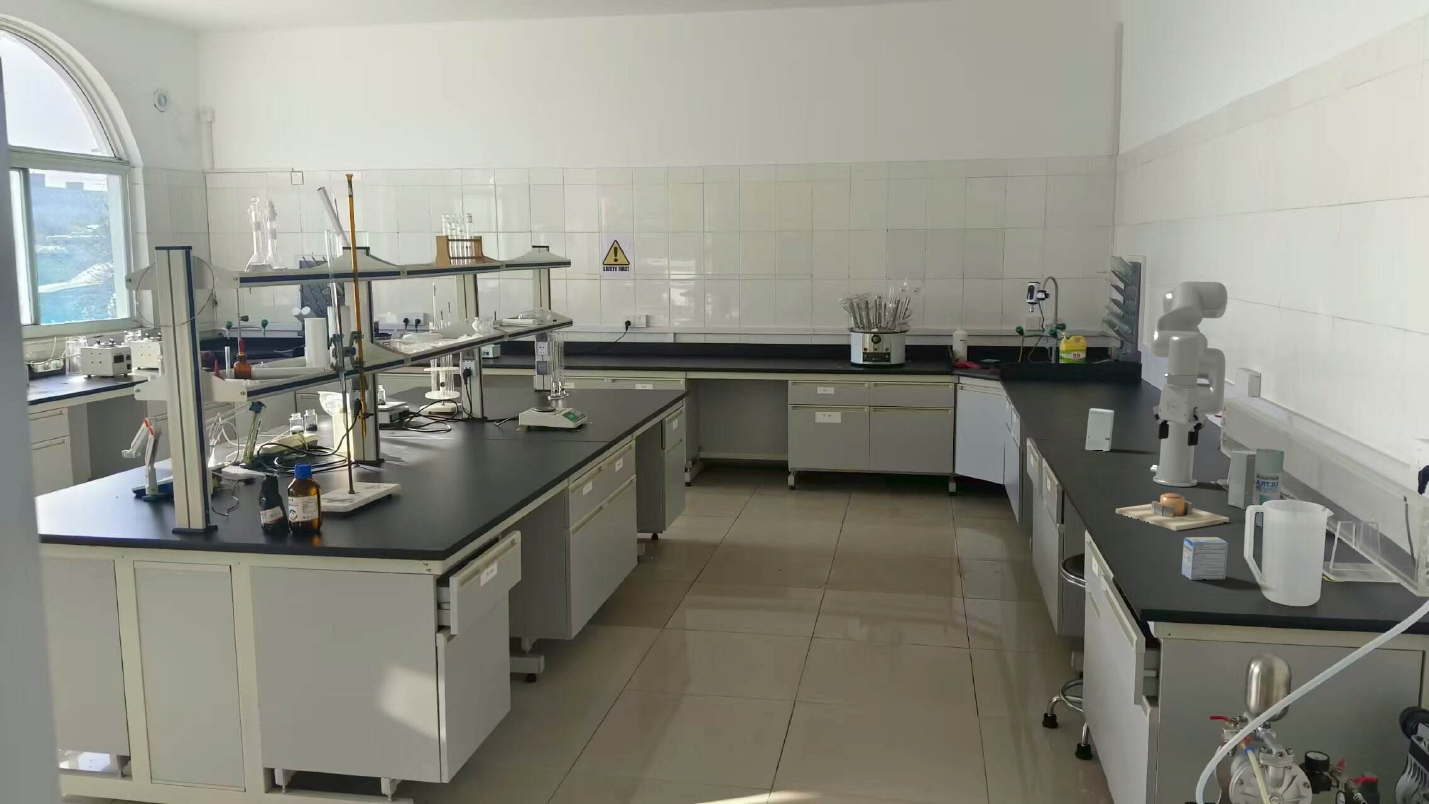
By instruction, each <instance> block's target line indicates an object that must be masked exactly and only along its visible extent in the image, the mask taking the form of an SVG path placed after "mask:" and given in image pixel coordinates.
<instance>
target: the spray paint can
mask: <svg viewBox="0 0 1429 804" xmlns="http://www.w3.org/2000/svg"><path fill="white" fill-rule="evenodd" d="M1255 451H1256V460H1255V474H1254V488H1253V502H1252V504H1254V505H1261V504H1263V503H1264V502H1266V501H1268V500H1276V499H1280V500H1281V491H1282V481H1283V472H1284V471H1283V469H1284V461H1285V460H1284V459H1285V452H1284V451H1283V450H1279V449H1272V448H1258V449H1256V450H1255ZM1256 523H1257V525H1258V526H1260V527H1259V528H1260V529H1263V528H1262V513H1261V512H1259V514H1257V516H1256Z"/></svg>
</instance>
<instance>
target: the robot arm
mask: <svg viewBox="0 0 1429 804" xmlns="http://www.w3.org/2000/svg"><path fill="white" fill-rule="evenodd" d="M1227 304H1228V291H1227V289H1226V287H1225V285H1224V284H1223V283H1221V282H1218V281H1184V282H1181V283H1178V284H1177V285H1175V287H1174V288H1173V290H1169V291H1167V292H1166V293H1164V295H1163V297H1162V307H1163V308H1162V309H1163V314H1162V315H1161V316H1160V317H1158V318H1157V319H1156V320H1155V322H1154V324H1153V327H1152V330H1151V338H1150V351H1151V353H1152V354H1153V355H1154V356H1156V357H1158V358H1168V360H1167V373H1165V375H1164V378H1165V379H1166V382H1165V383H1164V384H1163V386H1162V388H1161V393H1160V398H1159V404H1157V405H1155V406H1153V407H1152V412H1153V414H1154V418H1155V420H1156V423H1157V425H1158V435H1157V436H1158V437H1157V438H1158V440H1160V451H1159V465H1157V464H1153V465H1152V466H1151V467H1150V468H1149V469H1150V470H1149V471H1150V472H1152V473H1153V472H1154V473H1155V475H1154V476H1153V478H1152V481H1153V482H1155V483H1156V484H1159V485H1164V486H1169V487H1181V488H1182V487H1183V488H1185V487H1187V488H1188V487H1194V486H1197V485H1198V480H1197V479H1195V478H1193V467H1194V456H1195V454H1194V453H1195V452H1194V451H1195V446H1197V445H1198V444H1199V443H1198V442H1199V434H1200V433H1199V432H1201V431H1202V429H1203V428H1204V427H1205V426H1206V423H1207V421H1208V420H1209V417H1208V416H1207V415H1210V416H1214V415H1218V414H1220V413H1221V411H1222V410H1223V406H1224V400H1225V399H1224V398H1225V384H1226V383H1225V379H1226V356H1225V354H1224V352H1223V350H1221V349H1219V348H1216V347H1215V348H1214V347H1213V348H1212V347H1208V344H1209V343H1208V339H1207V336H1206V335H1205V334H1204V333H1202V332H1201V330H1200V329H1199V327H1198V326H1200V324H1201V323H1202V321H1203V319H1219V318H1222V317H1223V316H1224V314H1225V312H1226V310H1227V306H1228V305H1227ZM1198 379H1199V380H1201V379H1203V380H1206V381H1207V382H1208V383H1202V382H1201V383H1200V382H1198Z"/></svg>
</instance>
